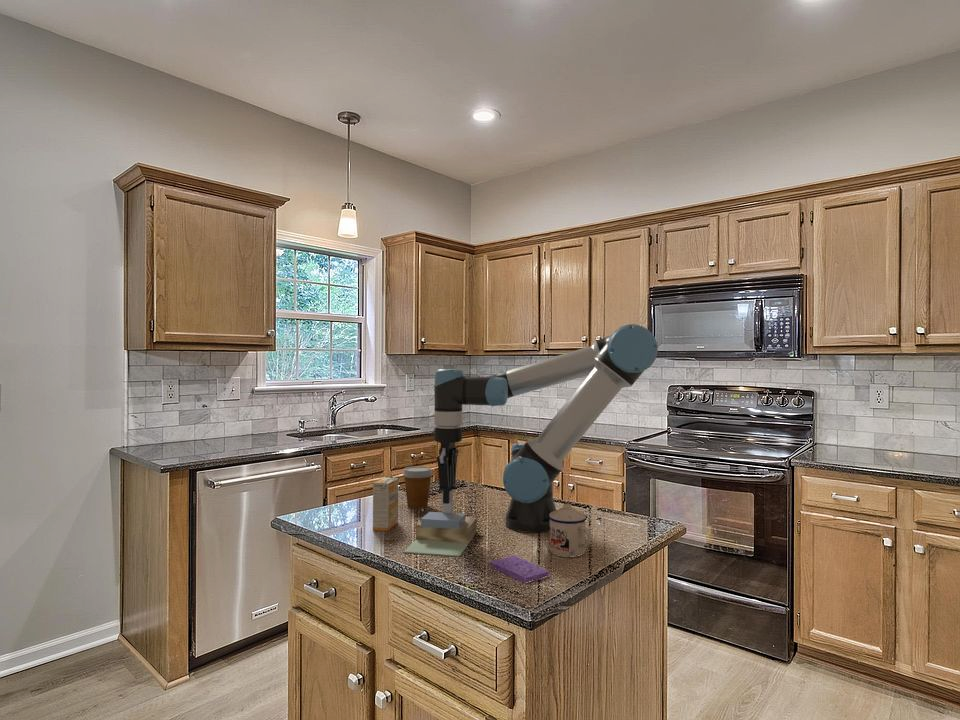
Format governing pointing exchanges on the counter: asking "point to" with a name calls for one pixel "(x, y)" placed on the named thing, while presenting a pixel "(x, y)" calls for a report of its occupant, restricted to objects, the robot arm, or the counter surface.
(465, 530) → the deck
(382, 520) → the supplement box
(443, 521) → the blue-grey rectangular block
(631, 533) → the counter surface
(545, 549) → the counter surface
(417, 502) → the disposable coffee cup
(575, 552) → the teacup with lid
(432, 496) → the counter surface
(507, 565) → the sponges
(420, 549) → the mat
